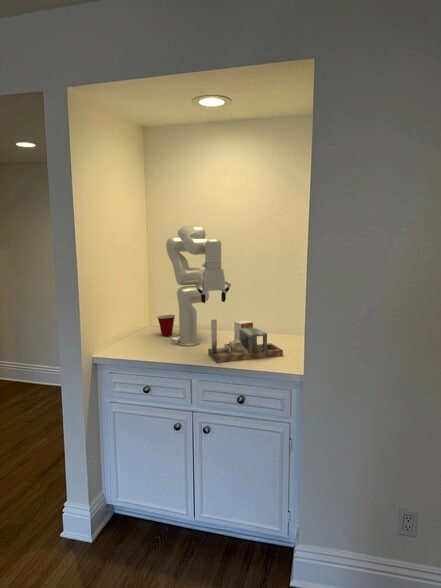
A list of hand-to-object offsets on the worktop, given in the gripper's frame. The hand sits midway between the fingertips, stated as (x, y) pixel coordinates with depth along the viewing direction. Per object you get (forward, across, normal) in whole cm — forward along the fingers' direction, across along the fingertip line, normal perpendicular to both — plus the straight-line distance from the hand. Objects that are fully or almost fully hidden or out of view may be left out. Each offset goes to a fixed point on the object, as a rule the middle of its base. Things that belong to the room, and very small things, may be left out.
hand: (213, 302), depth 203 cm
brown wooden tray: (+28, +16, 0) cm, 32 cm away
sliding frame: (+24, +6, 0) cm, 25 cm away
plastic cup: (+28, -13, +54) cm, 62 cm away
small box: (+28, +22, +18) cm, 40 cm away
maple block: (+25, +11, 0) cm, 27 cm away
